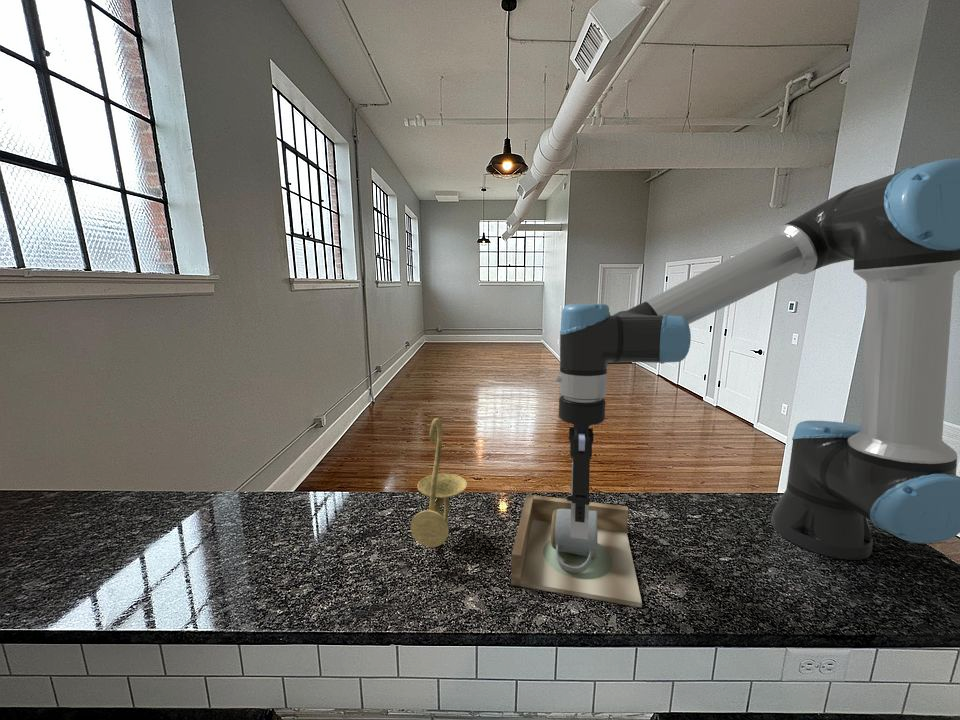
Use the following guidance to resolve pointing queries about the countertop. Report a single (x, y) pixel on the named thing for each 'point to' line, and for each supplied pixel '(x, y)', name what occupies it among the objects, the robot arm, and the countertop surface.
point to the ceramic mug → (573, 545)
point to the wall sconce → (430, 523)
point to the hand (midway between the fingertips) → (578, 514)
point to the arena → (575, 555)
